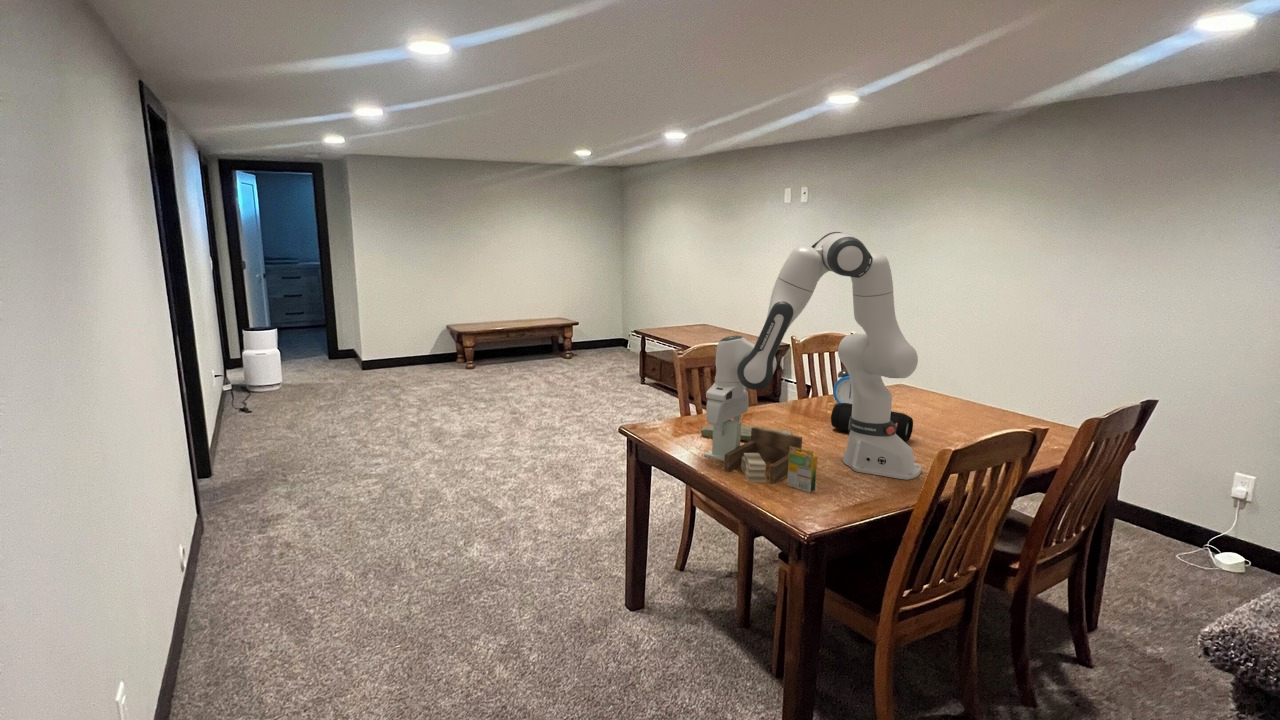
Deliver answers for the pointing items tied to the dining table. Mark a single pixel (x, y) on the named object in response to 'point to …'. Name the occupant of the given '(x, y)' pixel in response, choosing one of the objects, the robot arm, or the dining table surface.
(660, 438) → the dining table surface
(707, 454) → the grey plate
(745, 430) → the stone slab
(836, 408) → the portable speaker
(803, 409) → the dining table surface
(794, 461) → the crayon box
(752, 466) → the offcut stack
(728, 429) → the pale green block
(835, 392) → the alarm clock
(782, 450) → the walnut corral
